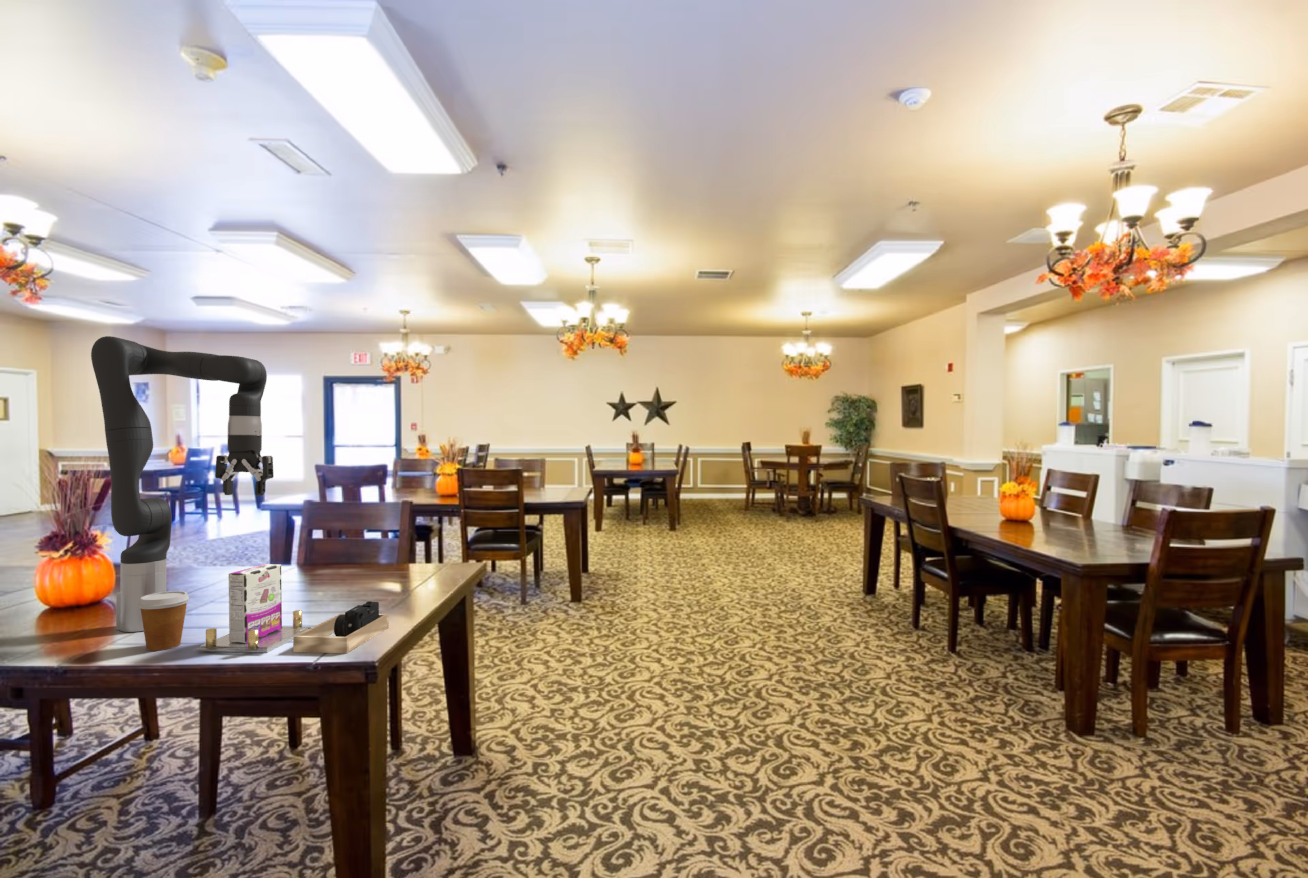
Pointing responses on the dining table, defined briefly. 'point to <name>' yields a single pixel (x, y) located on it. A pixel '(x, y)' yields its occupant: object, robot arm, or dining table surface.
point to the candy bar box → (255, 602)
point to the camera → (356, 618)
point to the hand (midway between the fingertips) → (244, 495)
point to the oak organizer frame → (322, 643)
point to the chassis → (254, 639)
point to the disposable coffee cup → (163, 619)
